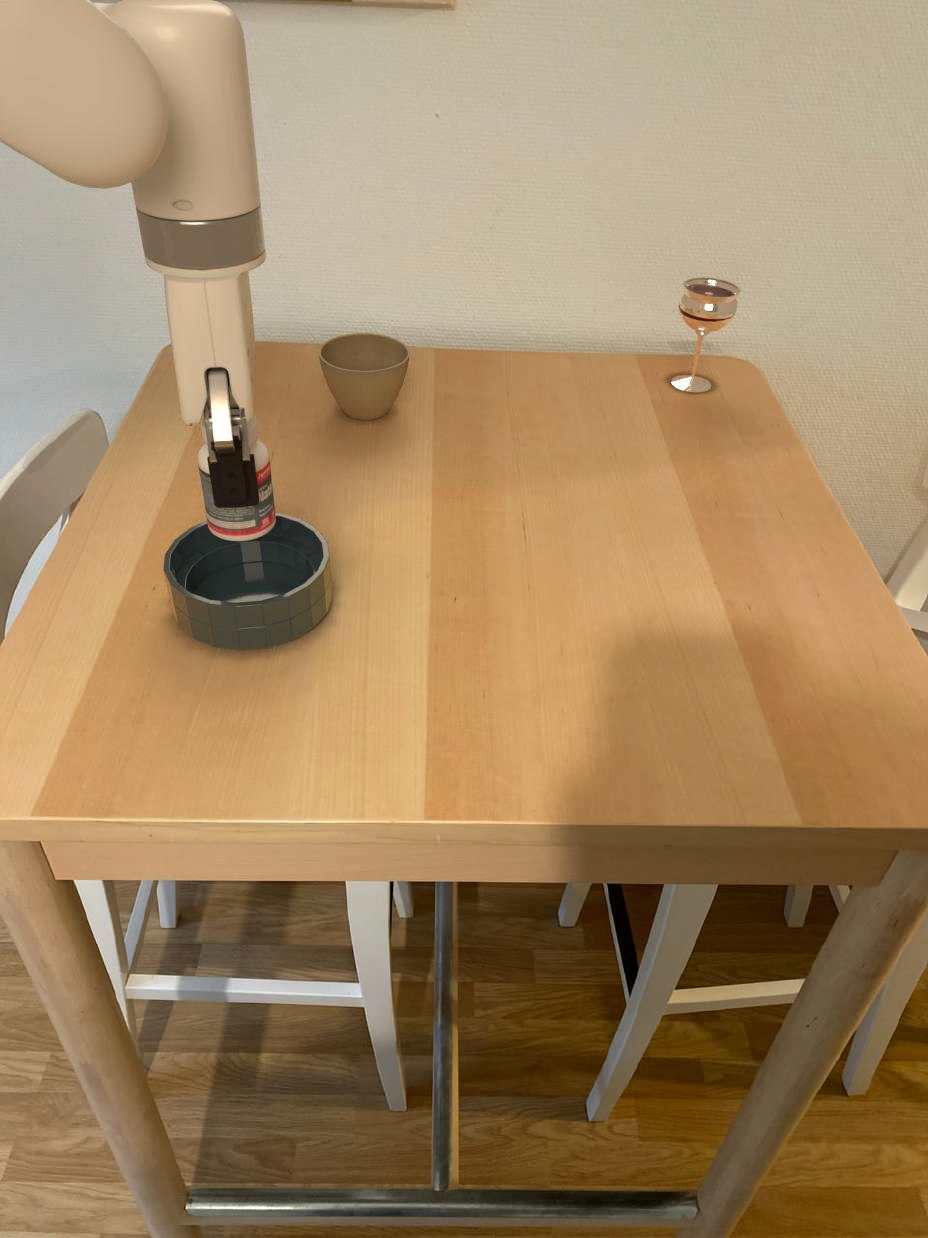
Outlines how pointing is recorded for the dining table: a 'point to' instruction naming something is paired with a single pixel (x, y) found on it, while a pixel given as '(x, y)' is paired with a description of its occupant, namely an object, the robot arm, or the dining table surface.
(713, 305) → the wineglass
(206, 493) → the pill bottle
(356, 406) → the flower pot
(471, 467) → the dining table surface
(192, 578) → the bowl
